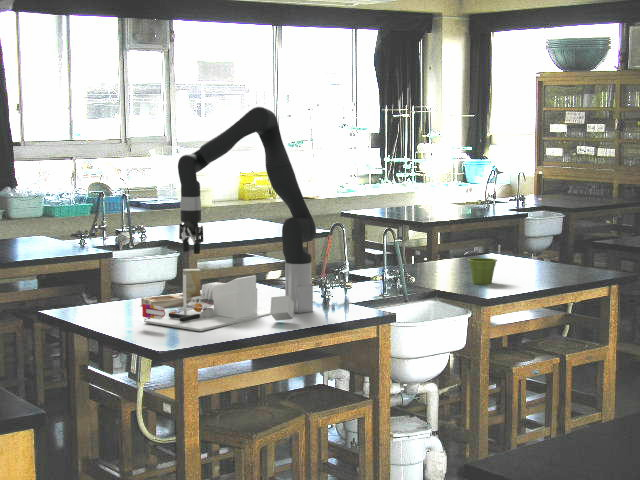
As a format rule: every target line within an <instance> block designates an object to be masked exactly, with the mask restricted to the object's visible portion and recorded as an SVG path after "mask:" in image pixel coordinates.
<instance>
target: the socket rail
mask: <svg viewBox="0 0 640 480" xmlns="http://www.w3.org/2000/svg"><path fill="white" fill-rule="evenodd" d="M201 293H202V291H200V296H201ZM194 297H198V296H194ZM192 298H193V297H186V302H187V304H188V303H189V302H191V299H192ZM140 300H141V306H142V305H143V304H147V305H153V306H161V307H163V308H164V309H165V308H173V307H181V306H182V307H184V302H183V293H180V294H178V293H177V294H169V295H160V296H150V297H149V296H148V297H141V299H140ZM195 300H196V299H195ZM195 300H193V302H195ZM196 303H198V302H197V301H196ZM202 303H203V304H206V303H205V302H202Z"/></svg>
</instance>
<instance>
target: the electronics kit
mask: <svg viewBox="0 0 640 480" xmlns="http://www.w3.org/2000/svg"><path fill="white" fill-rule="evenodd" d="M182 294H183V302H184V305H183V306H182V307H181V306H180V308H177V309H173V310H172V309H171V311H169V312H168V314H167V315H166V311H165V308H163V307H161V306H153V305H147V304H143V305H141V306H142V310H141V311H142V317H143V318H147V319H144V320H143V323H144V322H146V323H145V324H151V325H159V326H164V327H170V328H175V329H183V330H184V329H185V330H190V331H197V332H204V331H208V330H212V329H217V328H220V327H225V326H230V325H234V324H238V323H242V322H246V321H251V320H255V319H259V318H262V317H266V316H272V315H271V314H270V310H271V309H265V308H264V309H262V308H258V287H257V276H256V275H250V276H249V275H248V276H244V277H242V276H241V277H237V278H235V279H232V280H230V281H228V282H218V281H215V282H209V283H204V284H202V285H201V296H198V297H193V298H192V299H191V302H189V303H188V304H187V302H186V275H183V274H182ZM195 299H196V300H195ZM193 300H195V302H193ZM196 301H197V302H198V303H196ZM202 302H205V303H202ZM187 307H192V308H187Z"/></svg>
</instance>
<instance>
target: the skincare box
mask: <svg viewBox="0 0 640 480" xmlns="http://www.w3.org/2000/svg"><path fill="white" fill-rule="evenodd" d="M201 273H202V271H201V269H200V268H183V269H182V276H183V275H186V297H194V296H200V292H201V277H202V274H201Z"/></svg>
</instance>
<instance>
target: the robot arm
mask: <svg viewBox="0 0 640 480" xmlns="http://www.w3.org/2000/svg"><path fill="white" fill-rule="evenodd" d="M255 133H257V134H258V136H259V138H260V141H261V144H262V146H263V149H264V154H265V155H264V156H265V159H264V161H265V171H266V174H267V175H266V176H267V178H268V179H269V183H270V185H271V188H272V189H273V191H274V193H275V194H276V195H277V196H278V197H279V198H280V199H281V200H282V201H283V203H285V205H286V207H288V209H289V212H290V215H291V216H292V217H289V218H287V219H285V220H284V222H283V224H282V228H281V229H282V230H281V239H282V254H283V256H284V264H285V265H284V268H285V269H284V271H285V272H284V273H285V274H284V275H285V276H284V277H285V278H284V282H285V283H284V284H285V285H284V287H285V288H284V290H285V291H284V292H285V293H284V294H285V295H284V296H289V297H290V298H291V300H292V301H293V302H294V310H293V314H296V313H297V314H302V313H303V314H304V313H311V312H312V313H313V311H314V301H313V299H314V292H313V291H314V286H313V284H312V254H310V253H309V252H307V251H305V250H304V244H305V243H310V242H312V241H313V240H314V239H315V237H316V233H317V228H316V226H317V225H316V223H315V220H314V218H313V217H312V214H311V212H310V210H309V208H308V206H307V204H306V200H305V198H304V196H303V194H302V192H301V188H300V186H299V183H298V180H297V177H296V173H295V171H294V168H293V166H292V163H291V160H290V158H289V154H288V152H287V150H286V147H285V145H284V143H283V139H282V135H281V131H280V126H279V122H278V118H277V116H276V114H275V112H273V111H271V110H270V109H268V108H266V107H263V106H255V107H252V108H251V109H250V110H248V112H246V113H245V114H244V115H243V116H242V117H240V118H239V119H238V120H237V121H236V122H235V123H234V124H232V125H230V126H229V127H228V128H227V129H225V130H224V131H223V132H221V133H220V134H218V135H216V136H215V137H213V138H212V139H210V140H208V141H207V142H204V143H203V145H201V146H200V147H199V149H197V150H196V151H194V152H192V153H191V154H190V153H189V154H183V155H182V156H181V157H180V158H179V159H178V162H177V163H178V164H177V170H178V177H179V182H180V196H181V197H180V207H179V208H180V222H181V223H178V224H179V225H178V227H179V229H178V231H179V232H178V234H179V235H178V238H179V240H181V242H182V251H183V252H184V253H185V252H186V253H187V252H189V251H190V243H189V242H190V239H191V240H192V242H193V254H195V255H199V254H201V243H203V242H204V227H203V225H199V223H200V222H202V199H201V184H200V181H198V180H197V173H198V172H201V171H202V170H204V169H205V168H206V167H207V166H209V165H210V164H211V163H213V162H215V161H216V160H218V159H219V158H221V157H223V156H224V155H226V154H227V153H229V152H230V151H231V150H232V149H233V148H234V147H235V146H236V144H237V143H238V142H240V141H241V140H242V139H244V138H246V137H247V136H249V135H252V134H255Z"/></svg>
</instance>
